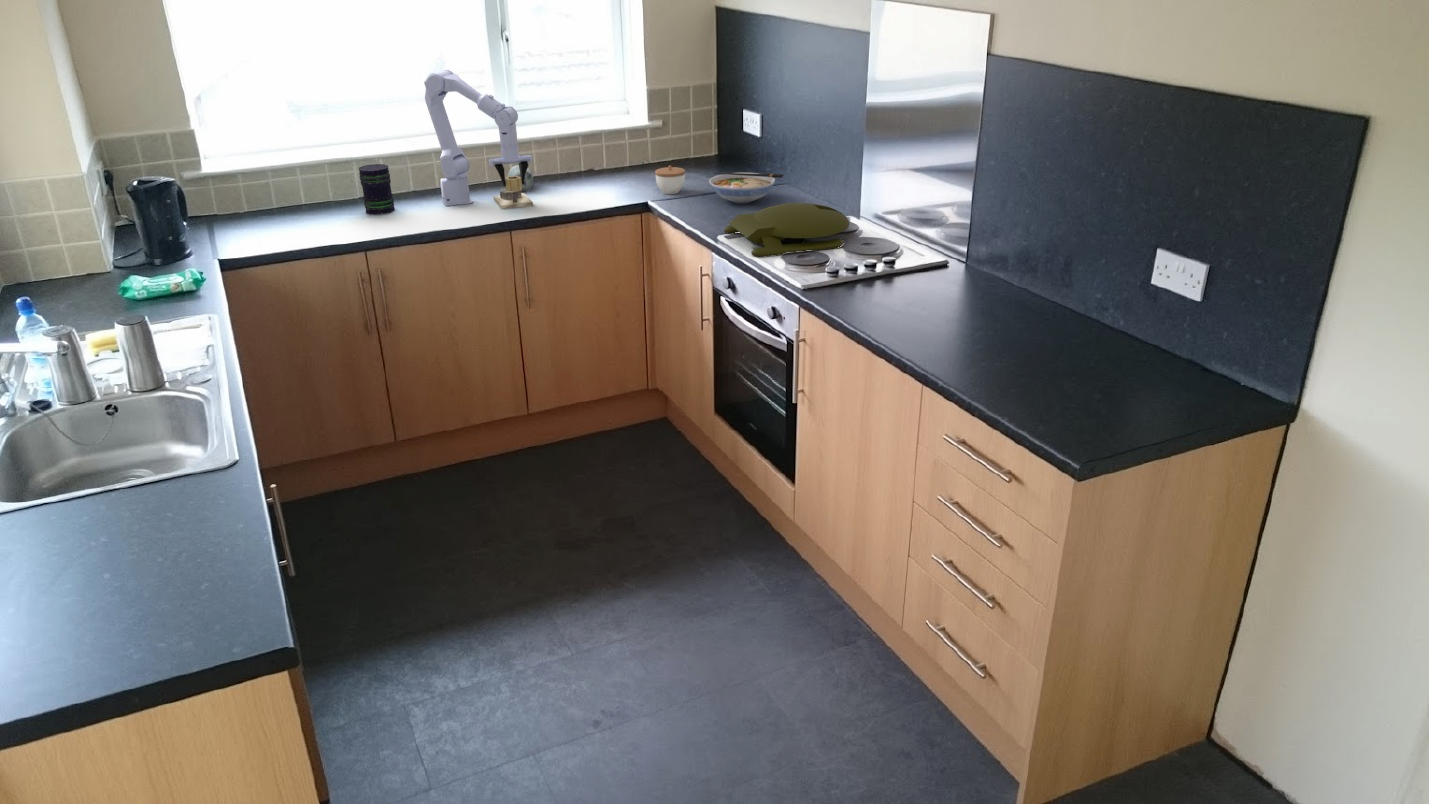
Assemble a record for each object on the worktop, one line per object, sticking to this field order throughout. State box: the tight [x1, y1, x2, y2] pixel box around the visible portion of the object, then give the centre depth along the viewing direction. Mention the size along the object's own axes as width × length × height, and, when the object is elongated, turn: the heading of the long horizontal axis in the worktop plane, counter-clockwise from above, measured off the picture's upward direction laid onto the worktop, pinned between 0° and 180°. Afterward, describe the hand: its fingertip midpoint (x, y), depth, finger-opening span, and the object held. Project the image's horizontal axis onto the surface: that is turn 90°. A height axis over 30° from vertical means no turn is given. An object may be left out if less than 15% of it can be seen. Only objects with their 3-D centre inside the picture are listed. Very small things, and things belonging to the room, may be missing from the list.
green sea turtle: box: [723, 202, 850, 258], centre depth 313 cm, size 35×31×10 cm
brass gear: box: [504, 176, 522, 191], centre depth 353 cm, size 6×6×4 cm
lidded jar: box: [654, 165, 686, 195], centre depth 368 cm, size 11×11×9 cm
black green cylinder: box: [358, 163, 396, 216], centre depth 350 cm, size 10×10×15 cm
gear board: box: [492, 188, 534, 210], centre depth 359 cm, size 11×14×4 cm
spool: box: [507, 164, 534, 192], centre depth 377 cm, size 14×10×10 cm
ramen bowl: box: [708, 172, 784, 205], centre depth 354 cm, size 25×23×8 cm
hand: (513, 184), depth 354 cm, fingers closed on brass gear, 6 cm apart
